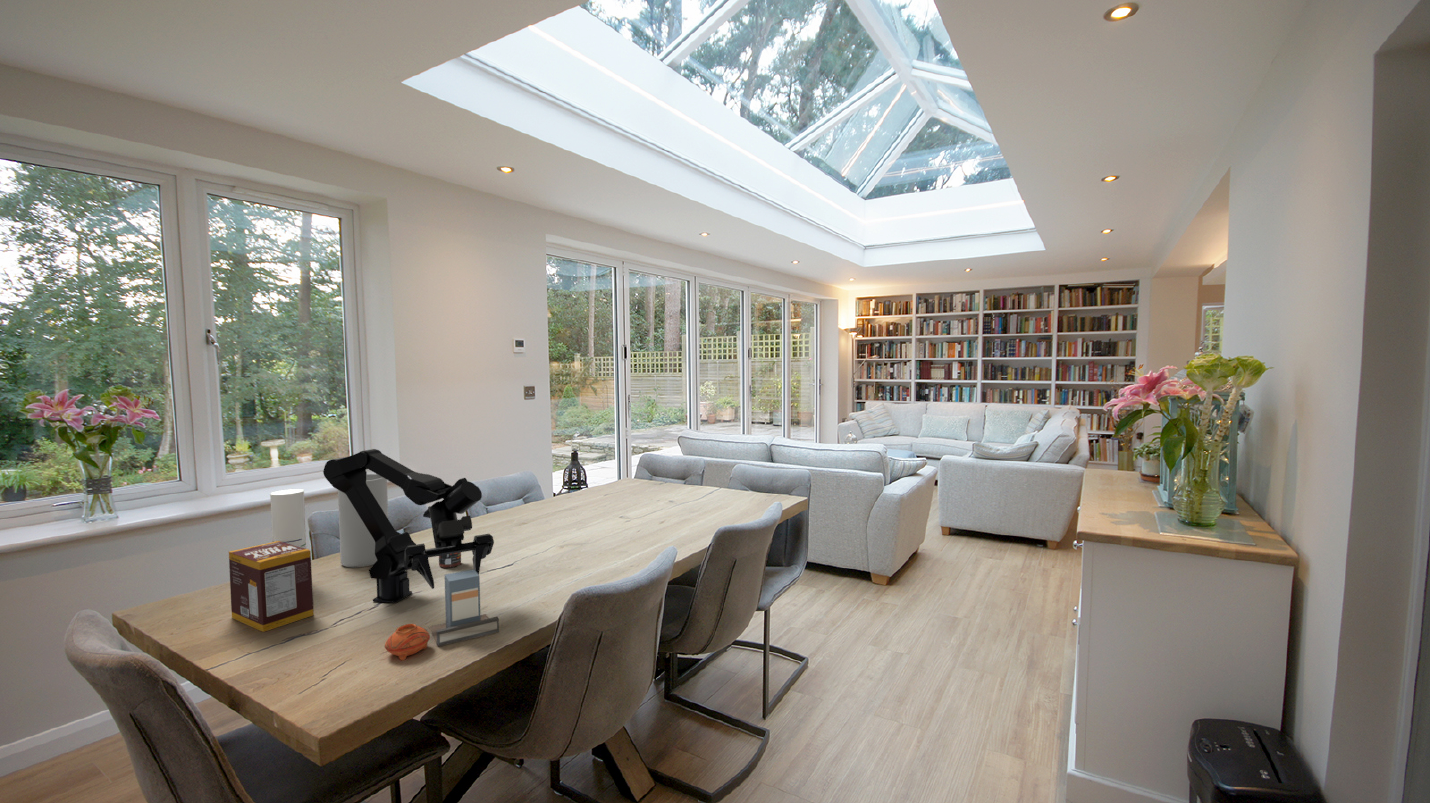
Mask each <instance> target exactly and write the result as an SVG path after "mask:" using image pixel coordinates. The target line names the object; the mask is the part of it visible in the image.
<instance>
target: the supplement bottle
mask: <svg viewBox="0 0 1430 803" xmlns="http://www.w3.org/2000/svg"><path fill="white" fill-rule="evenodd" d="M461 563H462V552H460V553H454V554H448V555H441V556H438V565H439V567H440V568H443V569H444V568H446V569H447V568H448V569H449V568H455V567H458V566H460V565H461Z"/></svg>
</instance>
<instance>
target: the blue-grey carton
mask: <svg viewBox="0 0 1430 803" xmlns="http://www.w3.org/2000/svg"><path fill="white" fill-rule="evenodd" d="M480 581H481V580H480V574H479V575H478V573H477V572H476V571H475V570H474V568H473V569H466V570H462V571H457V572H451V573H445V574H444V601H445V602H444V603H445V623H446V628H449V627H453V626H458V625H462V624H466V623H471V622H475V621H479V620H481V617H480V615H481V585H480V583H481V582H480Z"/></svg>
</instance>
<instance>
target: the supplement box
mask: <svg viewBox="0 0 1430 803" xmlns="http://www.w3.org/2000/svg"><path fill="white" fill-rule="evenodd" d="M311 553H312V552H311V550H310V549H309V548H306V549H305V548H301V547H298V546H294V545H291V544H287V543H284V542H281V541H275V542H272V541H270V542H267V543H263V544H259V545H258V544H257V545H253V546H249V547H244V548H240V549H239V548H238V549H235V550H230V551H228V563H229V564H228V566H229V568H228V569H229V586H230V587H229V588H230V607H231V608H230V609H231V619H233V620H236V621H238V622H239V623H242V624H244V625H247V626H249V627H251V628H253V629H255V630H257V631H260V632H261V633H262V632H263V633H264V632H268V631H271V630H273V629H277V628H280V627H282V626H286V625H289V624H291V623H294V622H297V621H300V620H305V619H306V618H310V617H312V616H314V614H315V613H314V596H313V594H314V593H313V576H312V575H313V574H312V573H313V572H312V554H311Z"/></svg>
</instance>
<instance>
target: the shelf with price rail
mask: <svg viewBox="0 0 1430 803" xmlns="http://www.w3.org/2000/svg"><path fill="white" fill-rule="evenodd" d="M480 617H481V620H479V621H475V622H471V623H466V624H462V625H458V626H453V627H449V628H446V622H444V623H440V624H435V625H431V626H428V629H429V632H430V633H431V635H432V638H433V640H434V643H435V644H436V646H437V648H439V647H443V646H446V645H450V644H456V643H459V642H463V641H467V640H472V639H476V638H481V637H484V636H488V635H492V634H496V633H499V632H500V623H499V620H500V619H499V616H494V617H493V616H492V617H489V616H488V615H487V614H486V613H483V614H480Z"/></svg>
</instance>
